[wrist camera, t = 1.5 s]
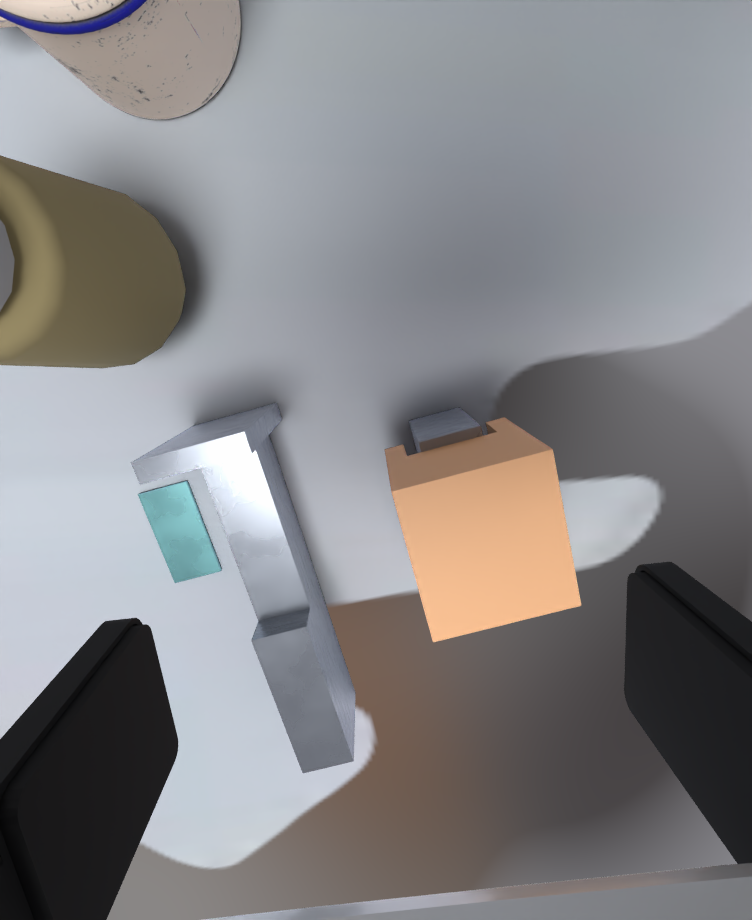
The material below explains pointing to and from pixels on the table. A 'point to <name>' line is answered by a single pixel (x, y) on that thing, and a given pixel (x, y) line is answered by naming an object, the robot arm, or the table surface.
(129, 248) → the squeeze bottle
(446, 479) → the block
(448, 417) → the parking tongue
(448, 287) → the table surface
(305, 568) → the rail
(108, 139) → the table surface
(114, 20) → the teacup with lid
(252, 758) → the table surface
